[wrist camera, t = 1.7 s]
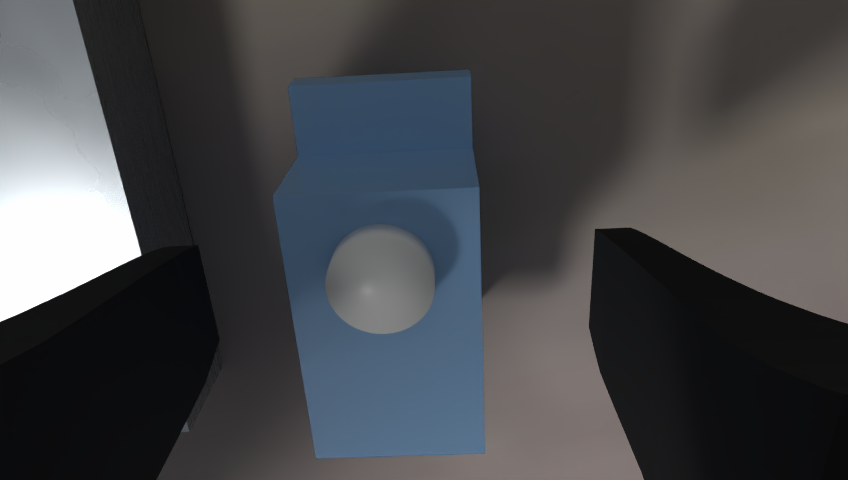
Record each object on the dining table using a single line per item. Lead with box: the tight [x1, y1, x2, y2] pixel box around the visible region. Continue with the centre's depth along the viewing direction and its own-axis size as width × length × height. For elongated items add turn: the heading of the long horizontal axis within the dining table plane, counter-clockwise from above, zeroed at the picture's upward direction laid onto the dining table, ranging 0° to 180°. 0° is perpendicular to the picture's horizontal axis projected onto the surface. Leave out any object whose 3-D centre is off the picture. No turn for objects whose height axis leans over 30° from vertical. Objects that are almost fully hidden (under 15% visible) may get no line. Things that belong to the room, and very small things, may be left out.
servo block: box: [272, 70, 485, 459], centre depth 12 cm, size 7×3×6 cm, turn 3°
